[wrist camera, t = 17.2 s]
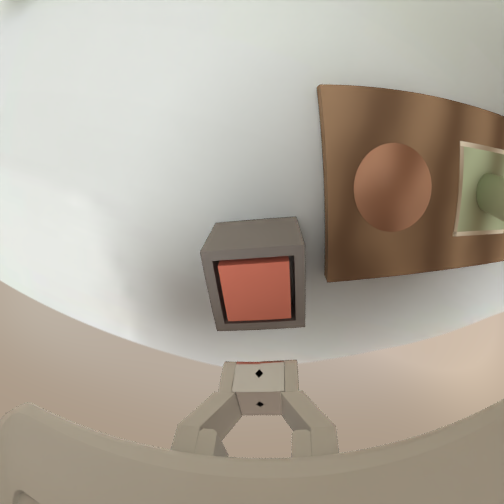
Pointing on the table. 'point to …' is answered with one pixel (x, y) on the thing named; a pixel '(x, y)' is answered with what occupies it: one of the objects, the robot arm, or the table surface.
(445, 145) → the picture board
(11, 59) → the table surface
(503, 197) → the marker
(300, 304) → the button housing
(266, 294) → the button
